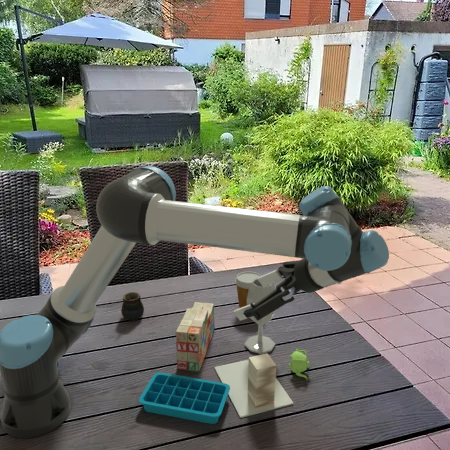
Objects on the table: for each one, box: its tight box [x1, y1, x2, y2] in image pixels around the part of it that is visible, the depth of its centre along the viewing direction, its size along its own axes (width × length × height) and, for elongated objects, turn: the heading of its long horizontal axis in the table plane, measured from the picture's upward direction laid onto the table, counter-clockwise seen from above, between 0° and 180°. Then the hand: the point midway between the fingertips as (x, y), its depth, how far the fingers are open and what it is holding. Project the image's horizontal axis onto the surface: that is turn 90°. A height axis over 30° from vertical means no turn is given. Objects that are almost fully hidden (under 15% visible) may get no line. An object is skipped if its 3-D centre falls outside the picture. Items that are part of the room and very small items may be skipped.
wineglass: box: [244, 278, 276, 355], centre depth 129 cm, size 9×9×21 cm
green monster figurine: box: [288, 348, 311, 380], centre depth 121 cm, size 6×5×6 cm
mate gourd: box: [120, 291, 145, 322], centre depth 145 cm, size 7×8×10 cm
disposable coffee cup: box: [234, 271, 262, 309], centre depth 151 cm, size 10×10×12 cm
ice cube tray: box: [138, 371, 230, 425], centre depth 109 cm, size 12×20×3 cm, turn 76°
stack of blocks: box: [175, 301, 215, 372], centre depth 130 cm, size 21×6×12 cm, turn 170°
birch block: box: [248, 352, 277, 408], centre depth 109 cm, size 5×5×11 cm
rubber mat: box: [213, 359, 294, 419], centre depth 116 cm, size 14×20×1 cm
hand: (249, 298), depth 110 cm, fingers open, 13 cm apart
